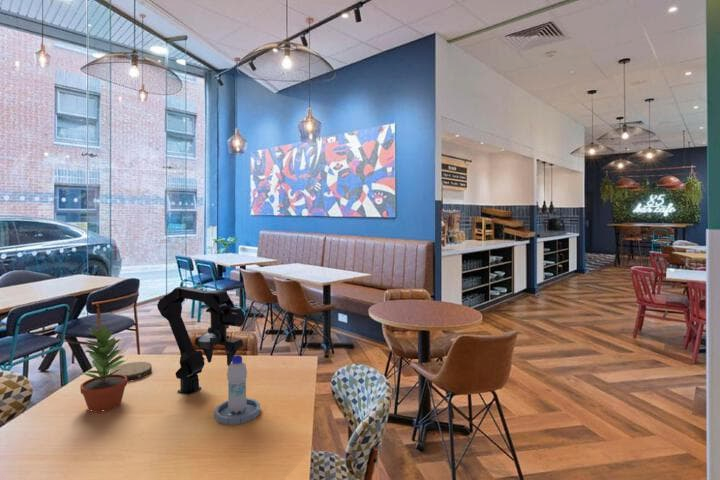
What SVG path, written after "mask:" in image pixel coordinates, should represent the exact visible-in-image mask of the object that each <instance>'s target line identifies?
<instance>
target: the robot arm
mask: <svg viewBox="0 0 720 480" xmlns="http://www.w3.org/2000/svg"><path fill="white" fill-rule="evenodd" d="M186 299H187V300H192V301H197V302H201V303H203V304H204V305H205V306H207V307H208V308H207V309H205V312H206V313H210V326H209V327H208V329H207V333H204V334H201V335H199V336H196V338H195V340H194V345H195V346H197V347H198V348H200V349H201V350H202V351H201V350H197V349H195V347H194V346H193V343H192V341H191V337H190V335H189V333H188V330H187V327H186V324H185V322H184V320H183V317H182V312H183V305H182V304H183V303H184V301H185V300H186ZM156 306H157V310H158V312H159V313H160V315H161V317H163V318H164V319H166V320H167V321H168V323H169V326H170V329H171V331H172V334H173V337H174V340H175V342H176V345H177V348H178V350H179V353H180V357H179V358H180V359H179V365H180V367H179V368H178V369H177V371H175V377H176V379H177V380H179V379H180V381H179V382H180V389H178V390H177V393H178V394H179V393H180V394H185V395H187V396H189V395H191V394H194V393H195V392H198V391H199V390H201V389H202V387H201V386H200V383H199V382H200V379H199V374H201V373H202V372H203V368H204V366H205V364H206V363H205V360H206V361H207V362H208V364H209V363H211V362H212V359H213V352H214V346H217V345H220V346H224V352H225V353H226V364H227V367H228V366H229V365H230V364H231V363H232V358H233V357H234V356H236V353H237V351H238V350H239V349H241V348H242V347H244V341H243V339H242V338H234V337H233V338H232V339H230V335H227V329H230V328H229V326H231V327H238V328H240V327H242V326H243V325H244V324H245V321H246V315H245V313H244V312H243V311H242V308H241V307H237V308H236V306H235V304H234V302H233V301H232V299H231V297H230V296H229V294H228V291H227V290H225V289H224V290H223V289H222V290H220V289H219V290H204V289H199V288H193V287H188V286H186V285H182V286H177V287H174V289H172V291H171V292H169V293H167V294H166V295H165V296H163V297H162V298H160V299H159V300H158V302H157V305H156ZM228 339H229V340H228ZM203 353H204V355H205V357H204V356H203ZM205 358H206V359H205Z"/></svg>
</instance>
